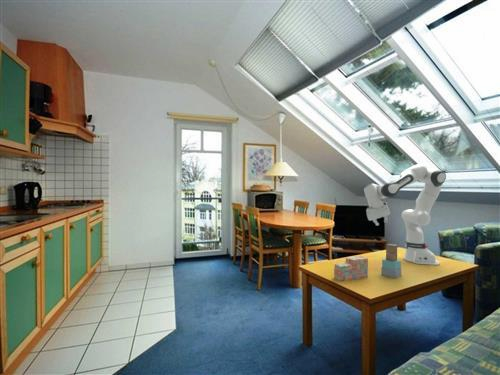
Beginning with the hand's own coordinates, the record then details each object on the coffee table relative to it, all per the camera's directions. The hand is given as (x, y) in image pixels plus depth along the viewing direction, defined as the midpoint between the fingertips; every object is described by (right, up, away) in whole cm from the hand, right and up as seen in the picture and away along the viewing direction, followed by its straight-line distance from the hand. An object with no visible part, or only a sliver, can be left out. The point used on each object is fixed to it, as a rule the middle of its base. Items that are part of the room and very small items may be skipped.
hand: (382, 223), depth 183 cm
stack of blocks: (-32, -31, -23) cm, 50 cm away
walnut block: (-3, -21, -18) cm, 28 cm away
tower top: (-3, -26, -18) cm, 32 cm away
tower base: (-3, -31, -18) cm, 36 cm away
